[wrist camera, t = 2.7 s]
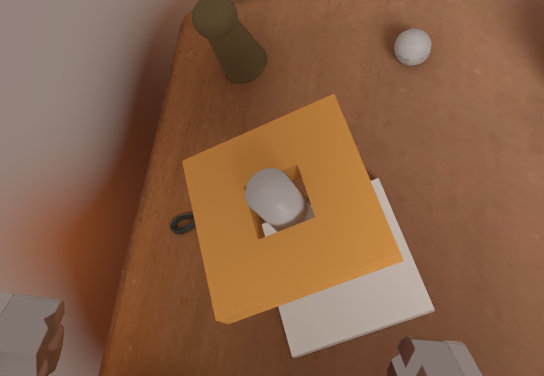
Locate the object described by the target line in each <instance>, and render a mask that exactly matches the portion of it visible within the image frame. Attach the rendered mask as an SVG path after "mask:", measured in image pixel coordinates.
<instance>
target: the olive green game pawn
mask: <svg viewBox="0 0 544 376" xmlns="http://www.w3.org/2000/svg"><path fill="white" fill-rule="evenodd" d="M192 20H193V23H194V26H195V28H196V30H197V31H198V32H199V33H200V34H201V35H202V36H203V37H205V38H208V40H209V42H210V44H211V46H212V48H213V50H214V52H215V54H216V56H217V59H218V61H219V63H220V65H221V67H222V69H223V71H224V73H225V75H226V77H227V78H228V79H229V80H230V81H232V82H234V83H241V84H242V83H246V82H249V81H251V80H253V79H255V78H256V77H257V76H259V75H260V74H261V72H262V71H263V69H264V68H265V65H266V54H265V51H264V50H263V49H262V48H261V46H260V45H259V44H258V43H257V42H256V40H255V39H254V38H253V37H252V36H251V34H250V33H249V32H248V31H247V30H246V28H245V27H244V26H243V25H242V24H241V22H240V21H239V20H238V19H237V10H236V8H235V5H234V3H233V2H232V1H231V0H200V1H198V3H197V4H196V5H195V7H194V10H193V17H192Z"/></svg>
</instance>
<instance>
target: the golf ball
mask: <svg viewBox="0 0 544 376" xmlns="http://www.w3.org/2000/svg"><path fill="white" fill-rule="evenodd" d="M394 52H395V55H396V57H397V59H398V60H399V61H400V62H401V63H403V64H405V65H410V66H414V65H418V64H420V63H422V62H423V61H425V60H426V59H427V57H428V56H429V54H430V52H431V40H430V38H429V36H428V34H427V33H426V32H424V31H423V30H421V29H416V28H412V29H408V30H406V31H404V32H402V33H401V34H400V35H399V36H398V38H397V39H396V42H395V45H394Z"/></svg>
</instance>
